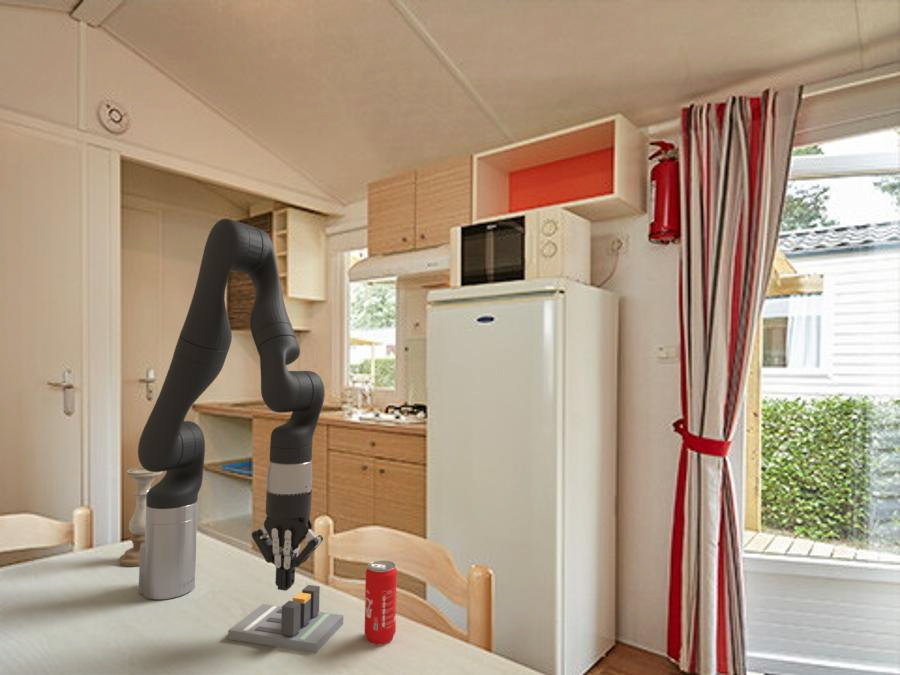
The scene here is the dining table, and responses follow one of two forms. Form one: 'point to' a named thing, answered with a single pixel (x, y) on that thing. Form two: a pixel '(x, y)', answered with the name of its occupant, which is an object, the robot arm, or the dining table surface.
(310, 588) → the block
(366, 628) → the beverage can
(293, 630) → the block
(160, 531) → the robot arm
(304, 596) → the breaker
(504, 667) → the dining table surface
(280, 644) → the panel
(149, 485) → the candle holder
